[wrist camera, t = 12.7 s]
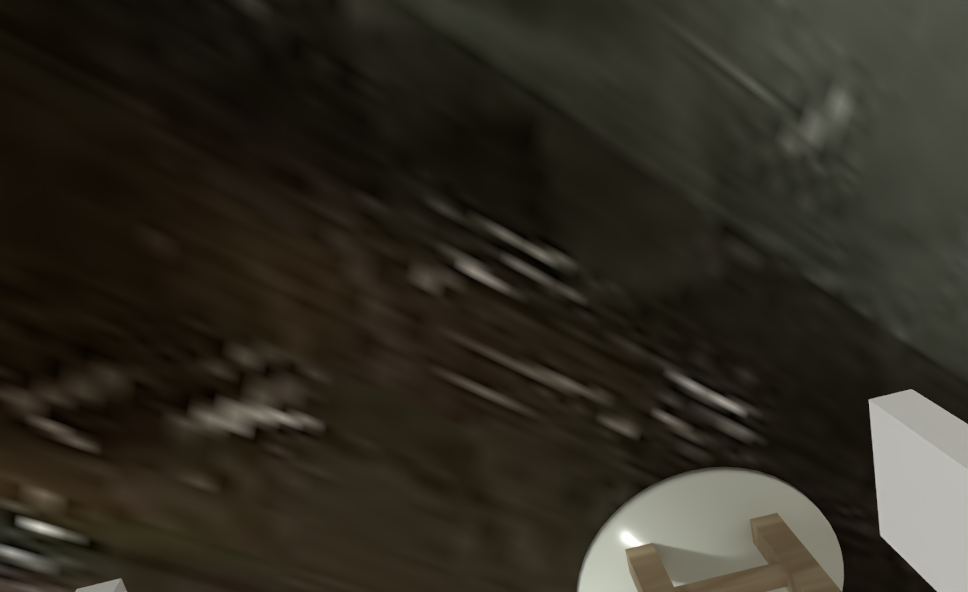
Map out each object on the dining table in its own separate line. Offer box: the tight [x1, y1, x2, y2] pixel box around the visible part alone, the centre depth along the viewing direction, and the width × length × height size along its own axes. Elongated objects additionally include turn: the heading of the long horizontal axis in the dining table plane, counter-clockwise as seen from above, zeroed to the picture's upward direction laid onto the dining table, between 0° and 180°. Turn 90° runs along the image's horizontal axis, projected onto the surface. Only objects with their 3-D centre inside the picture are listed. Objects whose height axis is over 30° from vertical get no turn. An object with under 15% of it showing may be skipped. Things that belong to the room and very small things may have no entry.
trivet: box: [577, 467, 844, 592], centre depth 45 cm, size 16×16×1 cm
